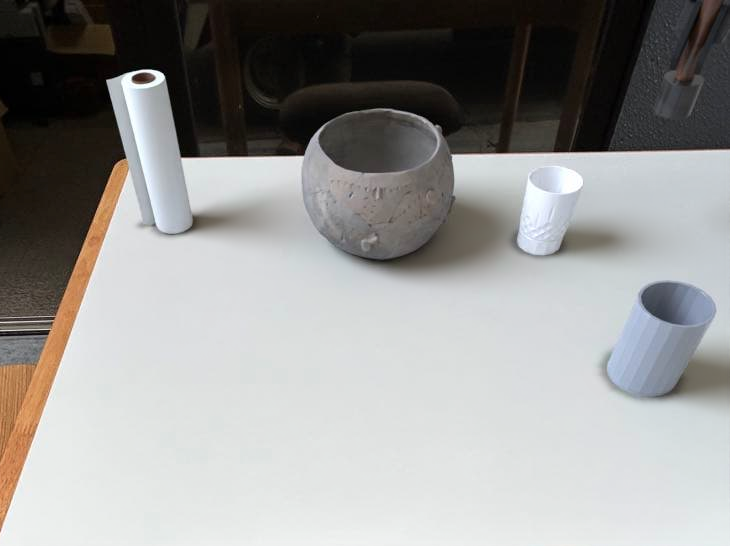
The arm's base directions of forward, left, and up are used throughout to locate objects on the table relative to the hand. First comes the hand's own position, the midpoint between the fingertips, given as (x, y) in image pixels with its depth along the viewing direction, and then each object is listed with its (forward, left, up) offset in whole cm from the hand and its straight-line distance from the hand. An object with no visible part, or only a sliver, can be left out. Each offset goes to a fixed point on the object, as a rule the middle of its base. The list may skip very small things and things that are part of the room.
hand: (685, 66), depth 83 cm
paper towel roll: (+66, +29, -24) cm, 76 cm away
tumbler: (-11, +28, -24) cm, 39 cm away
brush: (0, -4, -7) cm, 8 cm away
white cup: (+11, +6, -24) cm, 27 cm away
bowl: (+35, +16, -24) cm, 45 cm away
